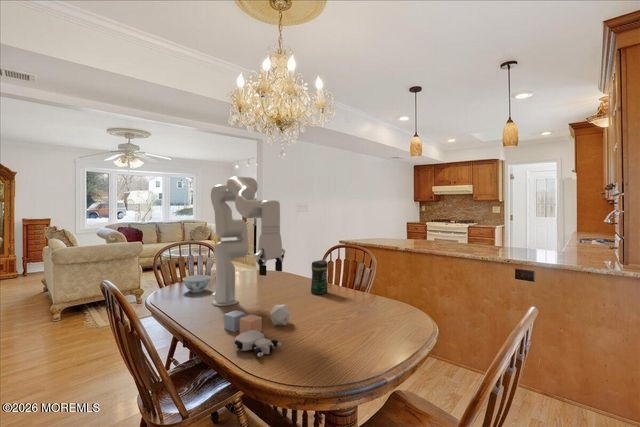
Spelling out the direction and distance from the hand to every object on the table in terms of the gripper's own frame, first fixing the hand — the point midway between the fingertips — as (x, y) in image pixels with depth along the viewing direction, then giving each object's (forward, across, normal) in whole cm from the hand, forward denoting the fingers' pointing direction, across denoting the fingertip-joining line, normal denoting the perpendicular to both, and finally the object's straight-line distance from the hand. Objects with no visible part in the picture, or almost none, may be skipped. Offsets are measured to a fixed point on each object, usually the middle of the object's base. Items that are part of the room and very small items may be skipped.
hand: (271, 273), depth 128 cm
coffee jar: (+22, -55, -12) cm, 61 cm away
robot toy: (+23, +17, +8) cm, 30 cm away
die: (+23, -6, 0) cm, 23 cm away
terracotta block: (+23, +8, -4) cm, 24 cm away
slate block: (+22, +8, -13) cm, 27 cm away
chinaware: (+21, -19, -73) cm, 78 cm away
